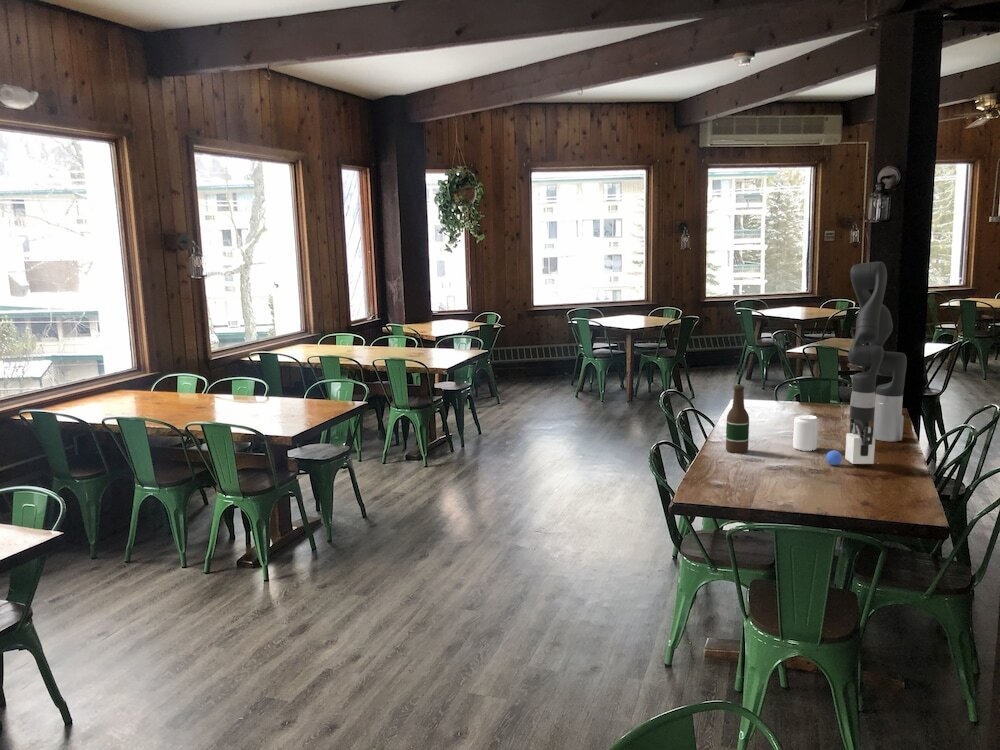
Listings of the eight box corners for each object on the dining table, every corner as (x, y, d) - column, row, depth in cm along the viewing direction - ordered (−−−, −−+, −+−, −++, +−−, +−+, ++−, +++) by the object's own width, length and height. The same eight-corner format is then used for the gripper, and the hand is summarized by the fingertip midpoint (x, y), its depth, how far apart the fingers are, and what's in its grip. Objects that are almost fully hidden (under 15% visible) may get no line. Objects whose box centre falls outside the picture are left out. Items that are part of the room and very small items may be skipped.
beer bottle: (748, 449, 295) (750, 384, 291) (747, 454, 288) (750, 388, 284) (726, 447, 297) (728, 383, 293) (724, 453, 290) (727, 387, 286)
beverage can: (818, 452, 289) (820, 419, 287) (794, 451, 291) (796, 418, 289) (814, 446, 297) (816, 414, 295) (791, 445, 299) (792, 414, 297)
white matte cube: (865, 458, 276) (867, 433, 274) (873, 463, 269) (875, 437, 267) (845, 458, 276) (846, 433, 275) (852, 463, 269) (854, 438, 268)
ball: (824, 448, 275) (823, 462, 276) (830, 452, 270) (828, 466, 271) (839, 449, 275) (837, 463, 276) (845, 453, 270) (843, 467, 271)
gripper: (883, 409, 262) (879, 458, 265) (865, 400, 276) (862, 447, 279) (859, 409, 262) (856, 458, 265) (843, 400, 277) (840, 447, 279)
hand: (859, 452), depth 272 cm, fingers closed on white matte cube, 7 cm apart
